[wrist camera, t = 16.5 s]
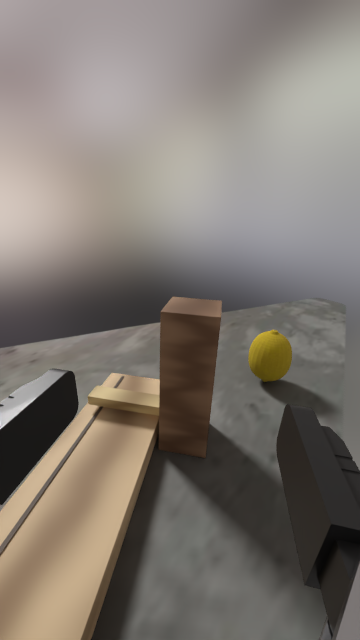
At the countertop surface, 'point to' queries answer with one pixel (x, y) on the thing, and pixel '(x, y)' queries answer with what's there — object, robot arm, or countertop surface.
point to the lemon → (270, 356)
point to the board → (73, 521)
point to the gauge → (178, 377)
